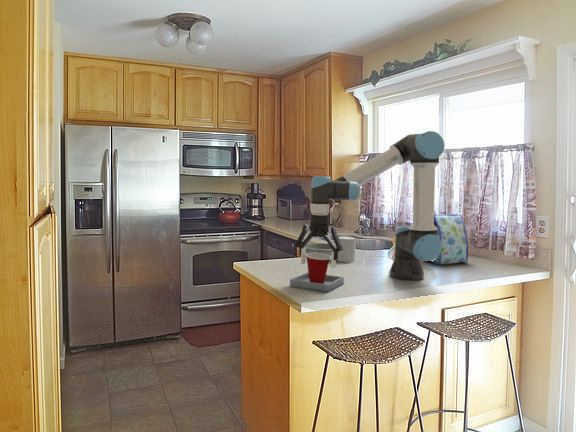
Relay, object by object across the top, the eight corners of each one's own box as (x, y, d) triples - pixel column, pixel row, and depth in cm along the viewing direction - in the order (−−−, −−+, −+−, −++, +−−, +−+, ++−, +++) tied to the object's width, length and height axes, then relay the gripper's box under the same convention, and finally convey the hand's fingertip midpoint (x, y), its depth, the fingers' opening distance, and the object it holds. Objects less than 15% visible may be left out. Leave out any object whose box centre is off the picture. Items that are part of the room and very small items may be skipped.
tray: (343, 284, 188) (343, 277, 187) (327, 292, 173) (327, 285, 173) (308, 278, 195) (308, 272, 195) (289, 286, 181) (290, 279, 181)
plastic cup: (321, 288, 177) (322, 258, 176) (299, 283, 183) (299, 254, 182) (335, 283, 185) (336, 254, 184) (313, 279, 192) (314, 251, 191)
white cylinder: (342, 258, 246) (343, 236, 245) (358, 260, 241) (359, 238, 240) (333, 260, 239) (334, 237, 237) (349, 263, 233) (350, 239, 232)
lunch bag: (444, 258, 256) (447, 212, 254) (469, 263, 242) (472, 215, 240) (417, 260, 245) (419, 213, 243) (441, 266, 231) (444, 216, 229)
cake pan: (350, 254, 261) (350, 246, 261) (322, 259, 244) (322, 250, 243) (318, 248, 278) (319, 241, 278) (290, 252, 261) (290, 244, 261)
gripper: (352, 215, 179) (349, 267, 181) (296, 211, 191) (295, 260, 193) (345, 216, 172) (342, 271, 174) (288, 212, 184) (286, 263, 186)
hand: (317, 265), depth 183 cm, fingers open, 13 cm apart
